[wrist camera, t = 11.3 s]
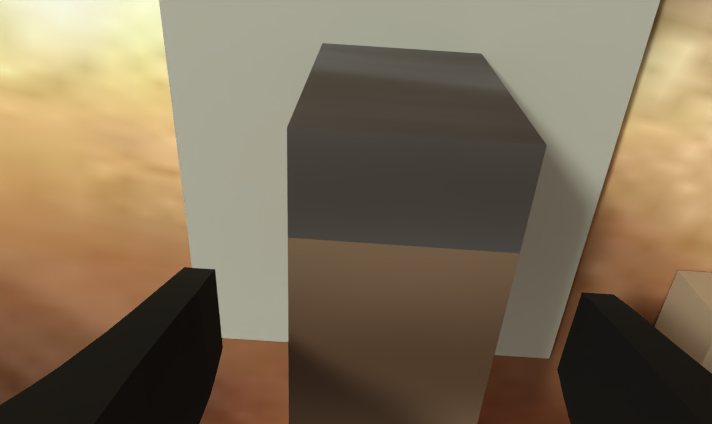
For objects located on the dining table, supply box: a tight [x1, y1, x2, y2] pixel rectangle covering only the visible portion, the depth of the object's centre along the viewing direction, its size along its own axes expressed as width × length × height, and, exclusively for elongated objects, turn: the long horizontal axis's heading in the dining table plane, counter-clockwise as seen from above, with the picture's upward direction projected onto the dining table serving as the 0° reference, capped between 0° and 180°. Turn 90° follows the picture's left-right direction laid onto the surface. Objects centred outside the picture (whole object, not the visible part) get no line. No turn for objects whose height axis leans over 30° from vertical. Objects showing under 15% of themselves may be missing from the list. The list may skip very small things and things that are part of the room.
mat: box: [159, 0, 660, 359], centre depth 16 cm, size 12×12×1 cm
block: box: [287, 43, 547, 424], centre depth 13 cm, size 8×4×6 cm, turn 177°
